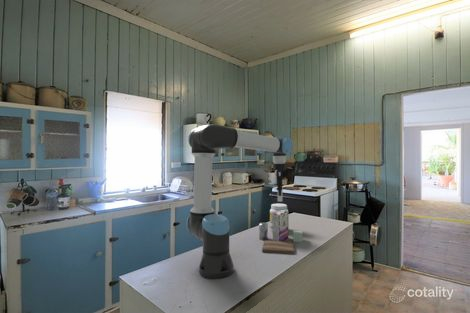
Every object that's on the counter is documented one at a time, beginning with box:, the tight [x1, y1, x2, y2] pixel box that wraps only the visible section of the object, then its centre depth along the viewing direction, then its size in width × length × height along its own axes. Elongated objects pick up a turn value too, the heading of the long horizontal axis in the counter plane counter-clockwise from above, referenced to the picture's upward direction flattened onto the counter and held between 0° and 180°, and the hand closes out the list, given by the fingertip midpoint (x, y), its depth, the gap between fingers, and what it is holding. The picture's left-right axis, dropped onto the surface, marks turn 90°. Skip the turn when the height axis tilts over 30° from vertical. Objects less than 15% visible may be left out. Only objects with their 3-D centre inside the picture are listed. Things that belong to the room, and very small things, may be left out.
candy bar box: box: [272, 210, 289, 241], centre depth 151 cm, size 11×5×16 cm, turn 143°
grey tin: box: [258, 222, 269, 241], centre depth 153 cm, size 5×5×9 cm
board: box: [261, 239, 295, 255], centre depth 137 cm, size 14×16×2 cm
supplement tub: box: [269, 203, 290, 232], centre depth 169 cm, size 12×12×17 cm
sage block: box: [292, 230, 304, 243], centre depth 149 cm, size 5×5×5 cm
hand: (280, 199), depth 151 cm, fingers open, 13 cm apart
